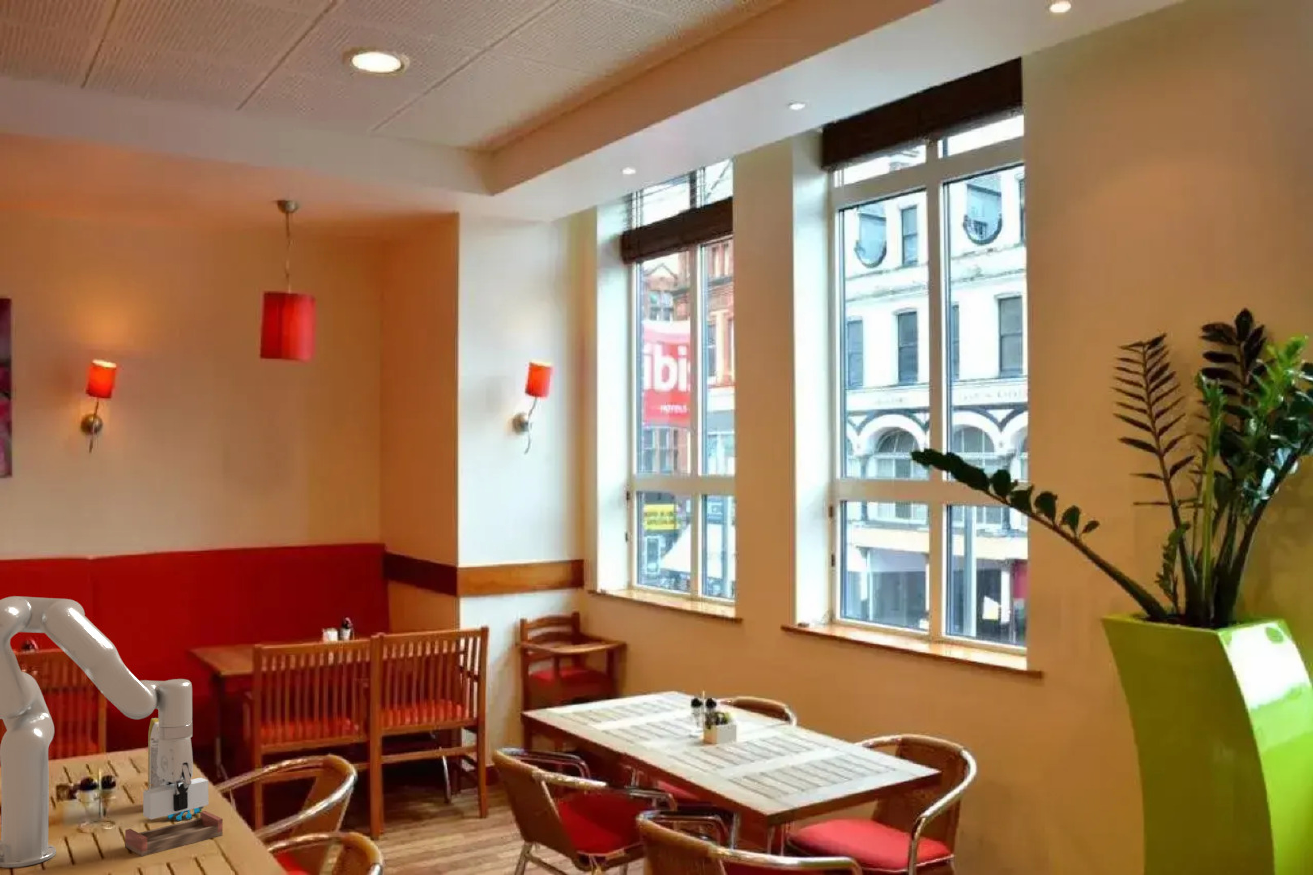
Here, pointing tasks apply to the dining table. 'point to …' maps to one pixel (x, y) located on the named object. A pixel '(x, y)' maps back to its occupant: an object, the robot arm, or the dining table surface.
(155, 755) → the juice carton
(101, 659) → the robot arm
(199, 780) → the long white brick
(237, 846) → the dining table surface
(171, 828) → the cradle
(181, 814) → the blue spiky virus model
